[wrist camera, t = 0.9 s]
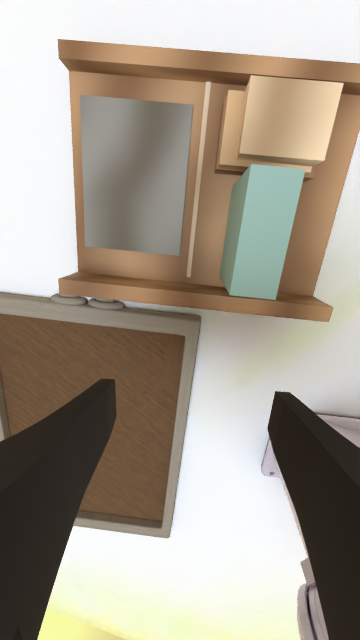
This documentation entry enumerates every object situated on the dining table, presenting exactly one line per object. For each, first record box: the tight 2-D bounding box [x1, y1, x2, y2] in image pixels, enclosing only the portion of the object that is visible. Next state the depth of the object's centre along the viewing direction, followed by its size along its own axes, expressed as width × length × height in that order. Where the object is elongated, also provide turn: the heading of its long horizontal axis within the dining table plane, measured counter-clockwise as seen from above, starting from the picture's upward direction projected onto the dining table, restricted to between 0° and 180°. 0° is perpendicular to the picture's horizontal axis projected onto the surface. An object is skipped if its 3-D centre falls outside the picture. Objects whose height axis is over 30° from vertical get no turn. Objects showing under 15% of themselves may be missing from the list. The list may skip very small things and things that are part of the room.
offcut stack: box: [214, 75, 344, 182], centre depth 14 cm, size 6×4×4 cm, turn 85°
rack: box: [58, 39, 360, 322], centre depth 16 cm, size 18×14×4 cm
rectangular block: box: [219, 164, 305, 300], centre depth 15 cm, size 2×6×6 cm, turn 175°
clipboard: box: [0, 292, 200, 538], centre depth 25 cm, size 19×2×30 cm
